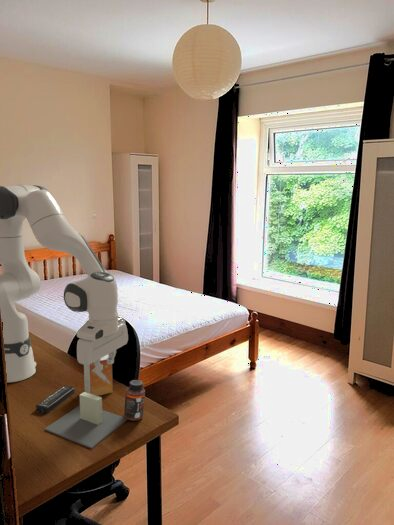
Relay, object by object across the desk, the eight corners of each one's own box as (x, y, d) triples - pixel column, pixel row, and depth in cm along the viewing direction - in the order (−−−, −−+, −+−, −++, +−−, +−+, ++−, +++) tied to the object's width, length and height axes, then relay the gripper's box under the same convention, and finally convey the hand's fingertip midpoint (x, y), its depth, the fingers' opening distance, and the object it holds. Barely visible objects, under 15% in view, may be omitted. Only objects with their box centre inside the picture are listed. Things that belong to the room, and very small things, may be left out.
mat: (44, 430, 122) (44, 428, 122) (82, 404, 136) (82, 403, 136) (91, 449, 114) (91, 447, 114) (127, 419, 128) (127, 418, 128)
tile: (80, 418, 127) (79, 394, 126) (85, 415, 129) (84, 391, 127) (98, 424, 124) (97, 400, 122) (102, 421, 126) (101, 397, 124)
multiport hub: (75, 393, 144) (74, 387, 143) (46, 415, 130) (46, 408, 130) (64, 390, 145) (64, 384, 145) (35, 412, 132) (35, 405, 131)
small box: (90, 399, 139) (89, 363, 137) (84, 390, 145) (82, 356, 142) (113, 392, 144) (112, 357, 141) (106, 384, 149) (105, 351, 146)
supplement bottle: (142, 422, 126) (145, 387, 125) (123, 421, 126) (125, 386, 124) (143, 412, 132) (146, 378, 131) (124, 411, 132) (127, 377, 130)
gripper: (116, 313, 137) (117, 352, 140) (72, 333, 119) (74, 377, 122) (132, 317, 134) (132, 356, 137) (89, 337, 117) (90, 382, 119)
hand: (104, 366), depth 130 cm, fingers open, 4 cm apart
